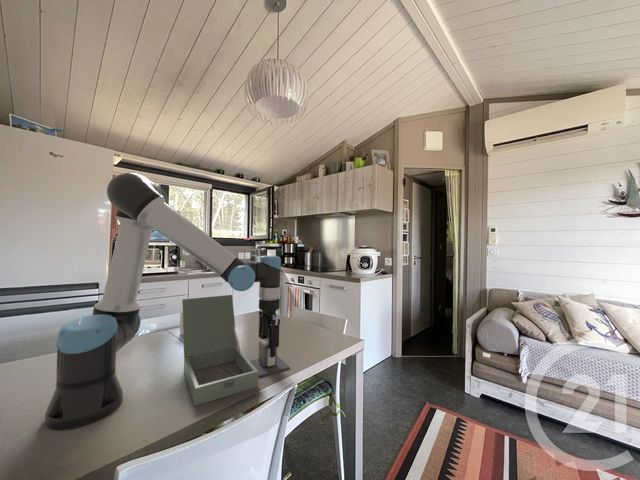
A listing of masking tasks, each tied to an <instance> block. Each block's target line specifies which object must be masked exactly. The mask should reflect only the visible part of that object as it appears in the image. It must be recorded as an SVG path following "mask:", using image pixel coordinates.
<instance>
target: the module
mask: <svg viewBox="0 0 640 480" xmlns="http://www.w3.org/2000/svg"><path fill="white" fill-rule="evenodd" d="M267 347H269V341H268V338H266V339H261V340H260V339H259V341H258V358H257V359H258V361H259V362H260V363H261V365H262V366H263V367H265V366H267V352H268V349H267ZM277 356H278V347H276V348H275V364H276V363H277Z"/></svg>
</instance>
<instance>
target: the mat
mask: <svg viewBox="0 0 640 480" xmlns="http://www.w3.org/2000/svg"><path fill="white" fill-rule="evenodd" d="M258 359H259V358H255V359H250V360H249V361H250V362H251V363H252V365H253V366H254V367H255V368H256V369H257V370H258V379H259V378H262V377H266V376H269V375H272V374H276V373H279V372H283V371H286V370H290V369H291V367H290V365H288V364H287V363H286V362H285V361H284V360H283V359H282V358H280V357H279V356H278V355H277V363H276V364H275V365H272V366H265V367H263V366H262V365H261V363H260V362H259V361H258Z"/></svg>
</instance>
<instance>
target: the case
mask: <svg viewBox="0 0 640 480" xmlns="http://www.w3.org/2000/svg"><path fill="white" fill-rule="evenodd" d="M233 300H234V299H233V295H232V294H225V295H215V296H205V297H195V298H185V299H181V301H182V303H181V304H182V305H181V306H182V310H183V336H182V337H183V372H184V373H183V374H184V377H185V380H186V383H187V385H188V389H189V392H190V394H191V398H192V402H193V403H194V404H193V405H194V406H195V407H196V406H198V405H199V406H200V405H203V404H205V403H209V402H212V401H215V400H218V399H222V398H225V397H228V396H231V395H236V394H238V393H243V392H246V391H249V390H251V389H255V388H258V387H259V378H258V370H257V369H256V368H255V367H254V366H253V365H252V363H251V362H250V361H251V360H249V359H248V358H247V356H245V354H244V353H243V352H242V351H241V348H240V347H241V346H240V342H239V340H238V335H237V331H236V322H235V321H236V320H235V311H234V301H233ZM231 362H235V363H236V365H237V366H238V367H239V369H240V370H241V371H242V373H240V374H238V375H234V376H229V377H226V378H222V379H218V380H214V381H211V382H206V383H204V384H200V385H199V382H198V380H197V377H196V375H195V372H194V371H198V370H202V369H207V368H211V367H215V366H219V365H223V364H227V363H231Z"/></svg>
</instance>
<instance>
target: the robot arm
mask: <svg viewBox="0 0 640 480" xmlns="http://www.w3.org/2000/svg"><path fill="white" fill-rule="evenodd" d="M106 195H107V198H108V201H109V203H111V204H112V205H111V206H113V207H114V208H116V212H115V219H116V220H117V221H118V222H119V228H118V232H117V236H116V239H115V240H116V241H115V244H114V247H113V248H114V249H113V252H112V257H111V262H110V266H109V270H108V273H107V274H108V275H107V279H106V282H105V287H104V291H103V295H102V299H101V300H99V301H98V302H96V303H95V304H94V306H93V311H92V315H87V316H83V317H81V318H76V319H73V320H71V321H69V322H67V323H66V324H64V325H63V326H62V327H61V328H60V329H59V331H58V334H57V335H58V336H57V340H56V343H55V344H56V377H55V378H56V380H55V381H56V383H55V384H56V385H55V386H56V387H55V389H54V392H53V395H52V397H51V399H50V401H49V404H48V406H47V407H46V408H47V409H46V410H45V414H44V416H45V417H44V425H46V426H47V427H48V428H47V427H46V426H45V427H46V428H47V429H49V428H50V430H53V429H54V430H53V431H62V430H63V431H65V430H66V431H67V430H72V429H77V428H81V427H84V426H88V425H91V424H93V423H95V422H97V421H100V420H101V419H104V418H105V417H107V416H110V415H111V414H112V413H113V412H115V411H116V410H117V409H118V408H119V407H120V406H121V405H122V403H123V395H124V394H123V389H122V386H121V384H120V381H119V379H118V376H117V374H116V373H117V372H116V365H117V359H116V358H117V352H119V351H120V350H121V349H122V348H123V347H124V346H125V345H127V344H128V343H129V342H130V341H131V340H132V339H134V338H135V336H136V334H138V332H139V329H140V327H141V321H142V320H141V315H140V314H139V313H140V309H141V305H140V304H139V303H138V301H137V299H138V295H139V294H138V293H139V291H140V290H139V289H140V285H141V280H142V276H143V271H144V268H145V264H146V263H145V262H146V259H147V253H148V250H149V245H150V240H151V237H152V232H153V230H155V231H157V232H158V233H159V234H160V235H162V236H163V237H165V238H166V239H167V240H169V241H170V242H171V243H173V244H174V245H176V247H179V248H180V249H182V251H184V252H186V254H189V256H191V257H193V259H195V260H197V261H198V262H200V263H201V264H202V265H204V266H205V267H206V268H208V269H209V270H210V271H212V272H214V274H216V275H218V276H219V277H220V278H222V279H223V280H224V281H225V282H226V283H228V284H229V285H230V287H231V288H232V289H233V290H234V291H237V292H246V291H248V290H249V289H251V288H252V287H253V285H254V283H259V286H258V297H259V299H258V309H259V312H258V317H259V319H258V338H260V339H259V341H260V340H261V339H266V338H268V341H269V347H267V349H268V352H267V366H272V365H275V348H276V347H277V348H278V347H280V326H281V325H280V324H281V319H280V318H277V311H278V310H279V309H280V307H281V300H280V297H281V290H282V289H281V279H282V278H281V274H282V266H281V265H282V264H281V263H282V262H281V257H280V256H278V255H261V256H260V257H259V260H256V261H252V260H250V261H247V260H242V259H240V258H238V257H237V256H236V255H234V253H232V252H231V251H230V250H228V249H227V248H226V247H224V246H223V245H221V244H220V243H219V242H218V241H217V240H216V239H214V238H213V237H211V236H210V235H208V234H207V233H206V232H205V231H203V230H202V229H200V228H199V226H197V225H195V224H194V223H193V222H192V221H190V220H189V219H188V218H186V217H185V216H183V215H182V214H181V213H179V212H178V211H177V210H176V209H174V208H173V207H172V206H171V205H169V204H168V196H167V194H166V192H165V191H164V190H163V188H162V187H161V186H159V185H158V184H157V183H155V182H153V181H151V180H150V179H148V178H147V177H145V176H143V175H141V174H138V173H134V172H126V173H120V174H118V175H116V176H114V177H113V178H112V179H110V181H109V183H108V185H107V188H106Z"/></svg>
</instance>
